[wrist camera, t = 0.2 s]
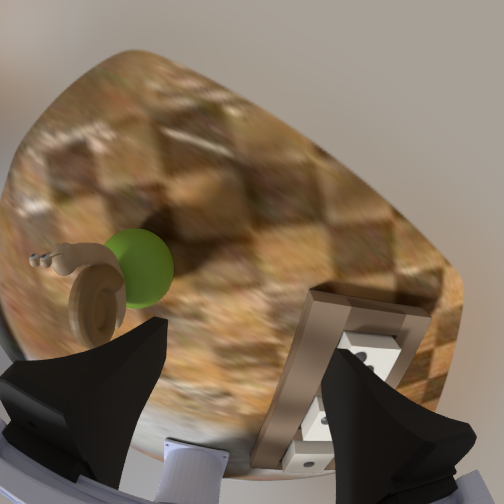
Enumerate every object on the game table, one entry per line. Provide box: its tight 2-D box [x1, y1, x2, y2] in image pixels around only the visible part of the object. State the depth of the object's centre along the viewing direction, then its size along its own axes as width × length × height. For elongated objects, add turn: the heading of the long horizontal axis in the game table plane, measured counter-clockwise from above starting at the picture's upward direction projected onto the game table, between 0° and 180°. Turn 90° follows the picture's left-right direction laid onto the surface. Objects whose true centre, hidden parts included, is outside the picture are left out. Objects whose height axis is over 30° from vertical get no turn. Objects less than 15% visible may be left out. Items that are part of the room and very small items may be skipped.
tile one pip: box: [282, 440, 334, 473], centre depth 24 cm, size 4×4×3 cm
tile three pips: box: [336, 330, 401, 381], centre depth 20 cm, size 4×4×3 cm
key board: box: [250, 289, 432, 470], centre depth 23 cm, size 23×11×2 cm, turn 169°
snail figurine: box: [29, 228, 174, 350], centre depth 15 cm, size 5×6×12 cm
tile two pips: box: [301, 395, 332, 441], centre depth 22 cm, size 4×4×3 cm
